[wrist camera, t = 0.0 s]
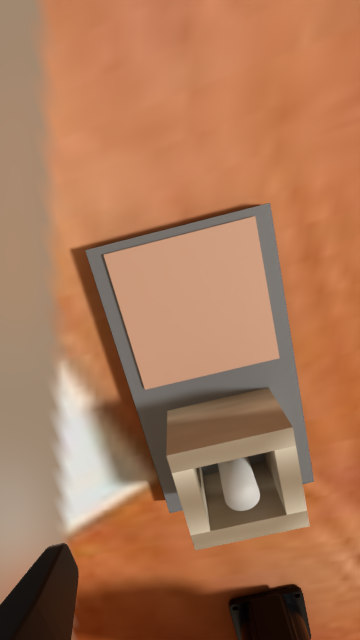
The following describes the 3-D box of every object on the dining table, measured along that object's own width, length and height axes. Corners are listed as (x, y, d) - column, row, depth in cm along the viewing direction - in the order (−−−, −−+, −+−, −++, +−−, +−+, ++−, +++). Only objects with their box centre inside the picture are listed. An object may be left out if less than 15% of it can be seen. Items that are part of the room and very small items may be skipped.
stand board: (308, 471, 25) (348, 542, 19) (169, 502, 25) (169, 579, 20) (265, 203, 19) (302, 194, 14) (89, 249, 20) (57, 257, 14)
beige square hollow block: (284, 471, 24) (309, 526, 19) (190, 491, 24) (195, 550, 20) (268, 387, 22) (292, 427, 17) (167, 410, 22) (166, 455, 18)
